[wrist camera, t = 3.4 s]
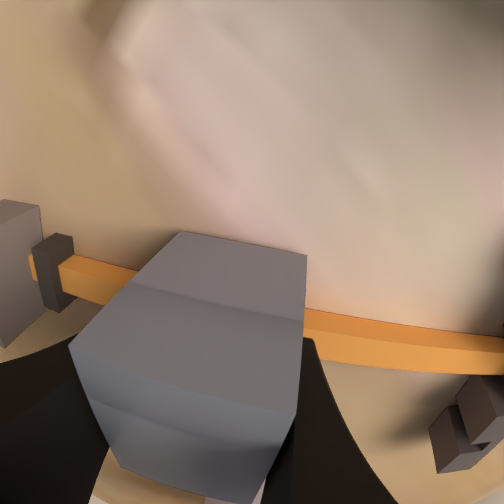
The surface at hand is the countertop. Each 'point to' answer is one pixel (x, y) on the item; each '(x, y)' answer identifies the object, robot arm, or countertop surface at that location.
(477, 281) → the countertop surface
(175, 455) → the sleeve
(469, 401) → the comb
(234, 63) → the countertop surface
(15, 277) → the hammer
